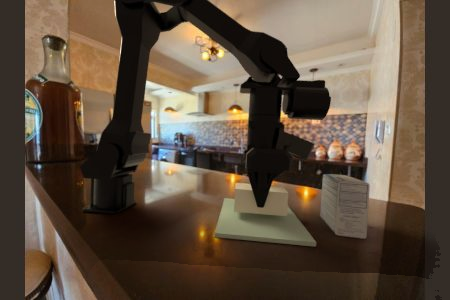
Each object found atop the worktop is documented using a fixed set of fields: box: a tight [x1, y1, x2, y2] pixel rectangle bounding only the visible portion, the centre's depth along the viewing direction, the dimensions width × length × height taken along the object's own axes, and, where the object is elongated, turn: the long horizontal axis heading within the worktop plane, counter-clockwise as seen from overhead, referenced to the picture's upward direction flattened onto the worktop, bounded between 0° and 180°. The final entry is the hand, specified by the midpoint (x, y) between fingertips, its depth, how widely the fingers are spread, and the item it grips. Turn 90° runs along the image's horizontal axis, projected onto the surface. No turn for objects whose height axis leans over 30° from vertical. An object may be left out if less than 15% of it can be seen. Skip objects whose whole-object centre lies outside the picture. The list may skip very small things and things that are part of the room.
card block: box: [234, 182, 289, 216], centre depth 34 cm, size 5×9×4 cm, turn 85°
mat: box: [214, 197, 317, 247], centre depth 34 cm, size 14×17×1 cm
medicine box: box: [320, 173, 370, 240], centre depth 32 cm, size 8×4×9 cm, turn 168°
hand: (258, 202), depth 34 cm, fingers closed on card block, 5 cm apart
